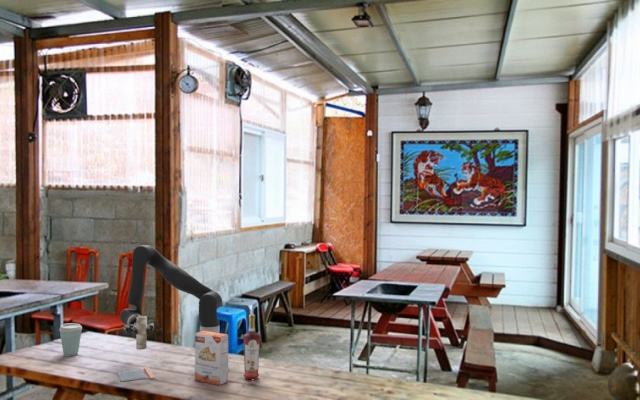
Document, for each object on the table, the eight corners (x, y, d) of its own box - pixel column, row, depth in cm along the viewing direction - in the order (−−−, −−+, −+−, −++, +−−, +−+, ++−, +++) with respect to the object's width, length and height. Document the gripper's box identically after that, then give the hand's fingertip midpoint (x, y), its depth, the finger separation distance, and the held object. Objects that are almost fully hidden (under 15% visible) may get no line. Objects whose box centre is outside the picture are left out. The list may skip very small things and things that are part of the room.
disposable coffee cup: (86, 351, 273) (86, 322, 273) (74, 358, 262) (74, 327, 262) (66, 351, 274) (67, 322, 274) (54, 357, 264) (54, 326, 264)
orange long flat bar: (148, 368, 248) (148, 367, 248) (155, 378, 233) (155, 377, 233) (144, 369, 247) (144, 367, 247) (150, 379, 232) (150, 378, 232)
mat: (140, 370, 244) (140, 369, 244) (144, 378, 233) (144, 377, 233) (117, 373, 239) (117, 372, 239) (120, 382, 229) (120, 380, 229)
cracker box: (193, 380, 232) (194, 332, 232) (203, 376, 237) (203, 329, 237) (219, 386, 225) (220, 336, 225) (228, 382, 230) (228, 333, 230)
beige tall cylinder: (145, 346, 242) (146, 315, 242) (147, 348, 238) (147, 317, 238) (135, 347, 240) (135, 316, 240) (136, 350, 236) (137, 318, 236)
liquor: (244, 381, 231) (244, 317, 231) (241, 376, 238) (242, 313, 238) (260, 380, 233) (261, 316, 233) (258, 375, 240) (258, 313, 240)
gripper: (120, 316, 249) (125, 324, 233) (152, 314, 255) (159, 321, 240) (120, 332, 249) (125, 341, 233) (151, 329, 255) (158, 338, 240)
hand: (142, 331), depth 237 cm, fingers closed on beige tall cylinder, 4 cm apart
